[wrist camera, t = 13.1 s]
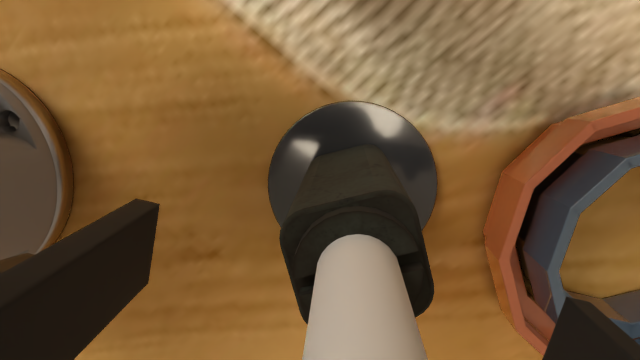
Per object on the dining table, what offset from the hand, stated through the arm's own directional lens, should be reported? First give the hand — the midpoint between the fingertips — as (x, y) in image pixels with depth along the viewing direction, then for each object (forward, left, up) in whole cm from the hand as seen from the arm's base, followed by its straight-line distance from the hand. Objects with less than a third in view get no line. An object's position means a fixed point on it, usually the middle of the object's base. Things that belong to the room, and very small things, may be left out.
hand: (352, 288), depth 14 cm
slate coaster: (0, 0, -16) cm, 16 cm away
